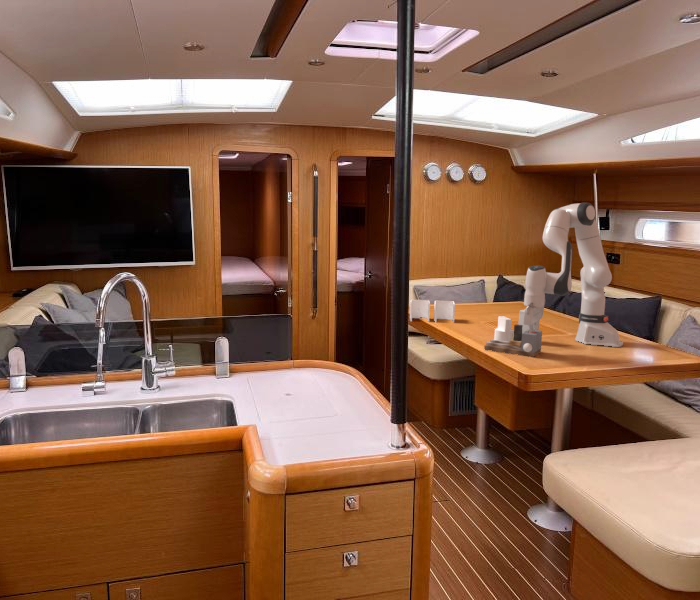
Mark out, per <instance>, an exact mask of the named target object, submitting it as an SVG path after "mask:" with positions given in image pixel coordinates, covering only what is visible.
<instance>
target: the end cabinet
mask: <svg viewBox="0 0 700 600" xmlns="http://www.w3.org/2000/svg"><path fill="white" fill-rule="evenodd" d="M534 332H535V333H529V330H527V331H525V332H524V333H522V342H521V351H524V352H531V353H535V352H536V351H537V350H539V346H540V348H541V349H542V339H543V330H535V331H534ZM538 353H539V352H538ZM536 354H537V352H536ZM539 354H540V353H539ZM524 355H525V356H524V357H529V355H527V356H526V354H524ZM537 355H538V354H537ZM531 356H534V355H531Z"/></svg>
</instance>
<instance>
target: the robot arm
mask: <svg viewBox="0 0 700 600" xmlns="http://www.w3.org/2000/svg"><path fill="white" fill-rule="evenodd" d="M596 212H597V211H596V208H595V207H594V205H593V204H592V203H590V202H581V203H578V202H577V203H571V204H567V205H565V206H560V207H557V208H554V209H553V210H552V211H551V212H550V213H549V215H548V218H547V220H546V222H545V225H544V229H543V233H542V242H543V244H544V245H545V247H546V248H548V249H549V250H551V251H552V252H554V253H557V254H559V255H560V256H561V266H560V267H561V268H560V272H558V273H557V272H548V271H546V266H543V265H537V264H536V265H531V266H529V267H528V268H527V271H526V276H525V286H524V287H525V291H524V297H523V298H524V299H523V305H524V306H526V307H525V308H524V310H525V311H524V319H523V323H524V325H529V328H530V329H529V332H534V331H535V327H536V322H537V321H539V320H540V321H541V320H542V319H543V316H544V310H545V305H546V302H547V301H546V294H548V295H549V294H550V295H555V296H560V297H565V296H566V295H568V294H569V293H570V292H571V290H572V287H573V285H572V284H573V280H572V277H573V274H572V273H573V272H572V271H573V270H572V269H573V255H574V254H573V245H572V243H571V241H570V240H569V238H568V235H569V231H570V229H571V228H572V229H573V228H574V234H575V239H576V245H577V249H578V255H579V257H580V260H581V262H582V265H583V267H582V268H580V271H579V272H580V274H579V275H580V288H581V289H580V290H581V302H580V303H581V304H580V305H581V306H580V312H579V315H578V328H577V332H576V336H575V338H574V341H576V342H578V341H579V342H578V343H581V342H582V343H581V344H583V343H584V344H583V345H586V344H591V345H590V346H597V345H604V346H603V347H608V346H612V347H611V348H620V347H621V348H622V347H623V346H624V341H623V340H620V335H619V332H618V330H617V329H616V328H615V327H613V326H612V325H611V324H610V323H609V315H606V314H605V312H606V311H605V309H606V293H605V287H607V286H609V284H611V282H612V280H613V275H612V272H611V270H610V266H609V264H608V261H607V258H606V255H605V253H604V248H603V244H602V239H601V235H600V230H599V227H598V223H597V221H596V215H597V213H596ZM540 321H539V322H540Z"/></svg>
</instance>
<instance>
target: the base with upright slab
mask: <svg viewBox="0 0 700 600" xmlns="http://www.w3.org/2000/svg"><path fill="white" fill-rule="evenodd" d="M512 320H513V319H511V318H509V317H507V316H503V315H501V316H497V327H496V328H494V335H493V336H494V337H493V340H498V341H505V342H510V340H512V339H513V337H514V329H512Z"/></svg>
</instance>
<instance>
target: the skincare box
mask: <svg viewBox="0 0 700 600" xmlns="http://www.w3.org/2000/svg"><path fill="white" fill-rule="evenodd" d="M524 311H525V309H520V310H519V313H518V322H517V323H518V324H517V325H523V326H522V333H524V332H525V331H527V330H529V329H530V328H529V325H524V323H523V319H524ZM540 321H541V320H539V321H537V322H536V327H535V330H539V328H540Z"/></svg>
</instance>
